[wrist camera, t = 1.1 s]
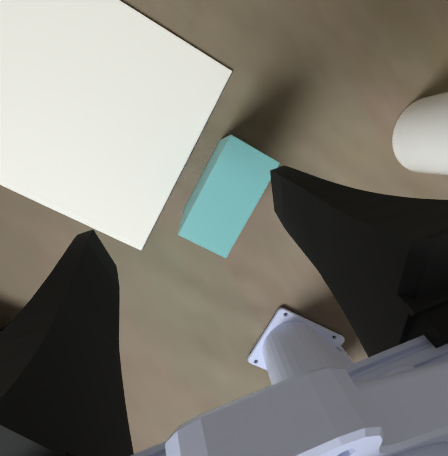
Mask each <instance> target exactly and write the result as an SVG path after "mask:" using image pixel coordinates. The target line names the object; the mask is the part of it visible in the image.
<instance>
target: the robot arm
mask: <svg viewBox="0 0 448 456" xmlns="http://www.w3.org/2000/svg"><path fill="white" fill-rule="evenodd" d="M270 176H271V184H272V193H273V201H274V210H275V212H276V214H277V216H278V218H279V219H280V221H281V223H282V225H283V226H284V228H285V229H286V231H287V232H288V233H289V235H290V236H291V237H292V238H293V240H294V241H295V242H296V243H297V245H298V246H299V247H300V248H301V250H302V251H303V252H304V253H305V255H306V256H307V257H308V258H309V260H310V261H311V262H312V263H313V265H314V266H315V267H316V269H317V270H318V271H319V273H320V274H321V276H322V277H323V279H324V281H325V282H326V284H327V285H328V287H329V288H330V290H331V292H332V293H333V295H334V297H335V298H336V300H337V302H338V303H339V305H340V307H341V308H342V310H343V312H344V313H345V315H346V317H347V319H348V320H349V322H350V324H351V326H352V328H353V329H354V331H355V333H356V335H357V336H358V338H359V340H360V342H361V344H362V346H363V348H364V350H365V352H366V353H367V355H368V357H369V358H366V359H364V360H361V361H359V362H356V363H354V362H353V361H352V360H351V358H350V357H349V356H348V354H347V353H346V352H345V350H344V349H343V348H342V346H341V345H342V344H343V342H344V340H345V339H344V337H343V336H342V335H340V334H337V333H335V332H333V331H331V330H329V329H327V328H325V327H323V326H321V325H318V324H316V323H314V322H312V321H310V320H308V319H306V318H304V317H302V316H300V315H297V314H295V313H293V312H291V311H289V310H287V309H285V308H279V309H278V310H277V312H276V313H275V315H274V317H273V318H272V320H271V321H270V323H269V325H268V326H267V328H266V329H265V331H264V333H263V334H262V336H261V337H260V339H259V340H258V342H257V344H256V345H255V347H254V348H253V350H252V352H251V353H250V355H249V356H248V361H249V363H251V364H253V365H256V366H258V367H261V368H263V369H265V370H267V371H268V374H269V377H270V380H271V383H272V385H271V386H268V387H266V388H264V389H261V390H259V391H256V392H254V393H251V394H249V395H246V396H244V397H241V398H239V399H237V400H234V401H232V402H229V403H227V404H224V405H222V406H219V407H217V408H215V409H212V410H210V411H207V412H205V413H202V414H200V415H198V416H196V417H195V418H193V419H191V420H189V421H187V422H185V423H184V424H182V425H180V426H179V427H178V428H177V429H176V430H175V432H174V433H173V434H172V435H171V436H170V437H169V438H168V440H167V441H165V442H162V443H160V444H158V445H155V446H153V447H150V448H148V449H146V450H143V451H141V452H138V453H136V454H134V453H133V447H132V442H131V436H130V430H129V424H128V418H127V411H126V404H125V397H124V389H123V381H122V373H121V363H120V353H119V281H118V274H117V267H116V265H115V263H114V261H113V260H112V258H111V257H110V255H109V254H108V252H107V250H106V249H105V247H104V246H103V244H102V243H101V241H100V239H99V238H98V236H97V235H96V233H95V232H94V230H90V231H87V232H84V233H81V234H78V235H77V236H76V237H75V238H74V240H73V241H72V243H71V244H70V246H69V247H68V248H67V250H66V251H65V253H64V254H63V256H62V257H61V259H60V260H59V262H58V263H57V265H56V266H55V268H54V269H53V271H52V272H51V273H50V275H49V276H48V277H47V279H46V280H45V281H44V283H43V284H42V285H41V287H40V288H39V289H38V291H37V292H36V293H35V295H34V296H33V297H32V298H31V300H30V301H29V302H28V303H27V304H26V306H25V307H24V308H23V309H22V310H21V311H20V312H19V314H18V315H17V316H16V317H15V318H14V319H13V320H12V321H11V322H10V323H9V324H8V326H7V327H6V328H5V329H3V330H2V331H1V332H0V456H448V200H435V199H419V198H407V197H399V196H391V195H384V194H378V193H373V192H368V191H363V190H359V189H354V188H350V187H347V186H343V185H340V184H336V183H333V182H330V181H327V180H324V179H321V178H318V177H315V176H313V175H310V174H307V173H304V172H302V171H299V170H296V169H293V168H290V167H287V166H281V167H278V168H275V169H272V170H270ZM284 313H287V314H286V315H284ZM334 335H335V336H334ZM332 336H334V337H332ZM254 360H257V361H254Z"/></svg>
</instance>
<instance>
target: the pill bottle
mask: <svg viewBox="0 0 448 456" xmlns="http://www.w3.org/2000/svg"><path fill="white" fill-rule="evenodd" d="M392 145H393V151H394V153H395V156H396V158H397V159H398V161H399V162H400V164H402V165H403V166H404V167H405V168H407V169H409V170H411V171H414V172H420V173H431V174H441V175H448V92H444V93H440V94H436V95H432V96H427V97H424V98H421V99H418V100H417V101H415V102H413V103H412V104H410V105H409V106H408V107H407V108H406V109H405V110H404V111H403V112H402V114H401V115H400V117H399V118H398V120H397V122H396V125H395V127H394V131H393V136H392Z"/></svg>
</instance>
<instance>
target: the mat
mask: <svg viewBox="0 0 448 456" xmlns="http://www.w3.org/2000/svg"><path fill="white" fill-rule="evenodd" d="M231 73H232V71H231V70H229V69H228V68H226V67H225V66H223V65H221V64H220V63H218V62H217V61H215V60H213V59H212V58H210V57H209V56H207V55H206V54H204V53H202V52H201V51H199V50H198V49H196V48H194V47H193V46H191V45H190V44H188V43H186V42H185V41H183V40H182V39H180V38H179V37H177V36H175V35H174V34H172V33H171V32H169V31H167V30H166V29H164V28H163V27H161V26H159V25H158V24H156V23H155V22H153V21H151V20H150V19H148V18H147V17H145V16H144V15H142V14H140V13H139V12H137V11H136V10H134V9H132V8H131V7H129V6H128V5H126V4H124V3H123V2H121V1H120V0H0V185H2V186H4V187H6V188H8V189H11V190H13V191H15V192H17V193H19V194H21V195H23V196H26V197H28V198H30V199H32V200H34V201H36V202H38V203H40V204H43V205H45V206H47V207H49V208H51V209H53V210H55V211H58V212H60V213H62V214H64V215H66V216H68V217H70V218H73V219H75V220H77V221H79V222H81V223H83V224H85V225H88V226H90V227H92V228H94V229H96V230H98V231H100V232H103V233H105V234H107V235H109V236H111V237H113V238H115V239H118V240H120V241H122V242H124V243H126V244H128V245H130V246H133V247H135V248H137V249H139V250H142V248H143V246H144V244H145V242H146V240H147V238H148V236H149V234H150V232H151V230H152V228H153V226H154V224H155V222H156V220H157V218H158V216H159V214H160V213H161V211H162V209H163V207H164V205H165V203H166V201H167V199H168V197H169V195H170V193H171V191H172V189H173V187H174V185H175V183H176V181H177V179H178V177H179V175H180V173H181V171H182V169H183V167H184V165H185V163H186V161H187V159H188V157H189V155H190V153H191V151H192V150H193V148H194V146H195V144H196V142H197V140H198V138H199V136H200V134H201V132H202V130H203V128H204V126H205V124H206V122H207V120H208V118H209V116H210V114H211V112H212V110H213V108H214V106H215V104H216V102H217V100H218V98H219V96H220V94H221V92H222V90H223V88H224V87H225V85H226V83H227V81H228V79H229V77H230V75H231Z"/></svg>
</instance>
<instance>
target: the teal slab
mask: <svg viewBox="0 0 448 456" xmlns="http://www.w3.org/2000/svg"><path fill="white" fill-rule="evenodd" d="M279 164H280V163H279V162H277V161H275V160H274V159H272V158H270V157H269V156H267V155H265V154H263V153H262V152H260V151H258V150H257V149H255V148H253V147H251V146H250V145H248V144H246V143H245V142H243V141H241V140H239V139H238V138H236V137H234V136H233V135H229V136H227V137H225V138H223V139H221V140H220V141H219V143H218V145H217V147H216V149H215V151H214V153H213V155H212V157H211V159H210V160H209V162H208V164H207V166H206V168H205V170H204V172H203V174H202V176H201V178H200V180H199V181H198V183H197V185H196V187H195V189H194V191H193V193H192V195H191V197H190V199H189V201H188V203H187V204H186V206H185V208H184V211H183V215H182V220H181V224H180V228H179V233H178V235H180V236H182V237H184V238H186V239H188V240H190V241H192V242H194V243H196V244H198V245H200V246H202V247H204V248H206V249H208V250H210V251H212V252H214V253H216V254H218V255H220V256H222V257H224V258H226V257H227V255H228V253H229V252H230V250H231V248H232V246H233V245H234V243H235V241H236V239H237V238H238V236H239V234H240V232H241V231H242V229H243V227H244V225H245V224H246V222H247V220H248V218H249V217H250V215H251V213H252V211H253V209H254V208H255V206H256V204H257V202H258V201H259V199H260V197H261V195H262V194H263V192H264V190H265V188H266V187H267V185H268V183H269V181H270V180H271V176H270V170H272V169H275V168H277V167H278V166H279Z"/></svg>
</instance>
